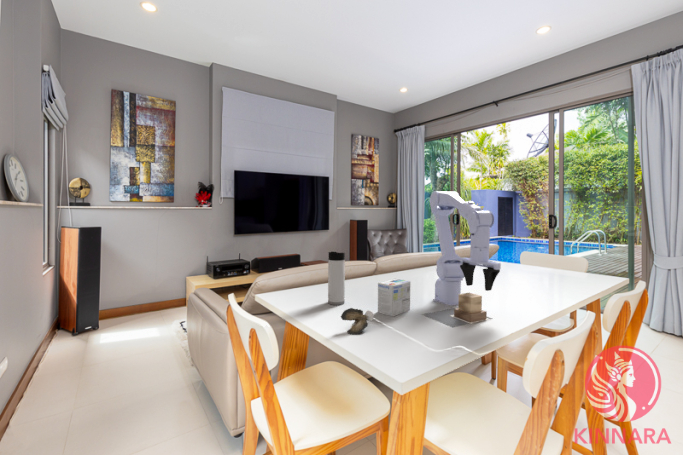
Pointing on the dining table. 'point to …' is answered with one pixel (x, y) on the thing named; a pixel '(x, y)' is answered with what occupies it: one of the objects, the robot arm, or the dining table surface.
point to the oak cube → (470, 302)
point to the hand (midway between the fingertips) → (478, 287)
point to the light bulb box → (393, 297)
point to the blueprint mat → (449, 318)
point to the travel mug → (336, 278)
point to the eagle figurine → (357, 319)
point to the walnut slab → (470, 315)
